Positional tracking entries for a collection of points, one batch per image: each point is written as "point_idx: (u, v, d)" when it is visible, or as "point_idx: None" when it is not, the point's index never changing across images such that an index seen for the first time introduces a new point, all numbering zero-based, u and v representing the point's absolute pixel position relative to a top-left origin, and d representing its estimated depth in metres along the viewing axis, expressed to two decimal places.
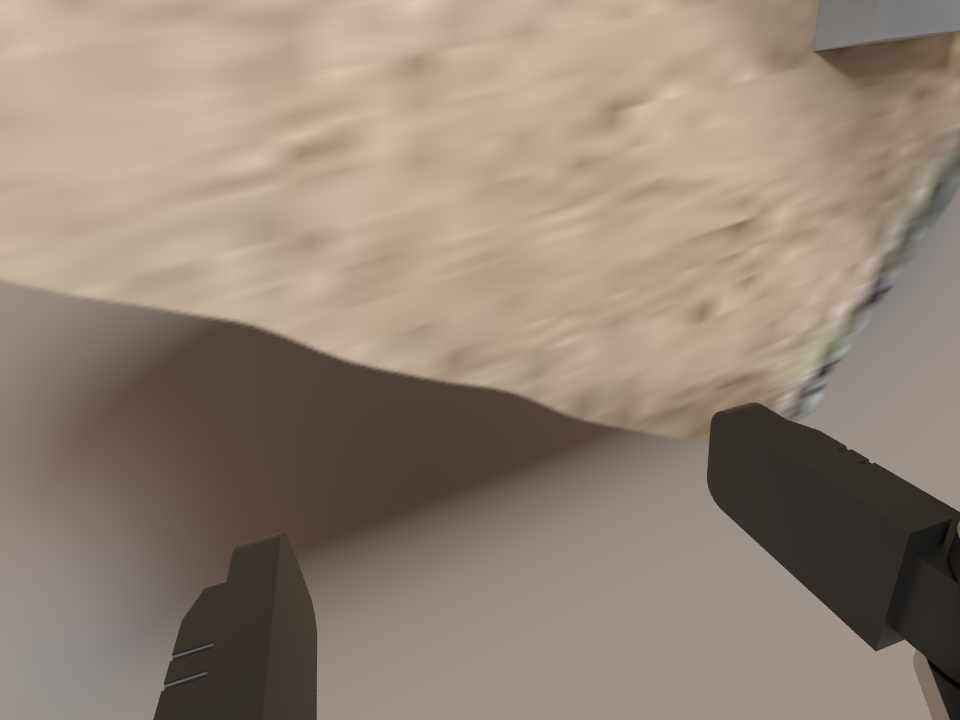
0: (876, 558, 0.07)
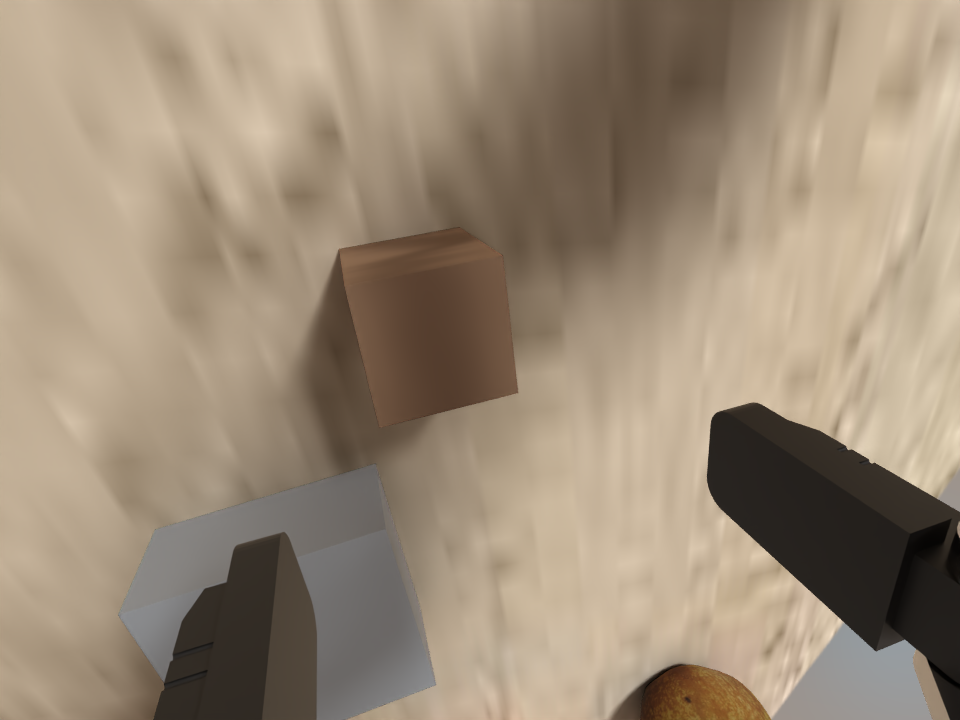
0: (876, 558, 0.07)
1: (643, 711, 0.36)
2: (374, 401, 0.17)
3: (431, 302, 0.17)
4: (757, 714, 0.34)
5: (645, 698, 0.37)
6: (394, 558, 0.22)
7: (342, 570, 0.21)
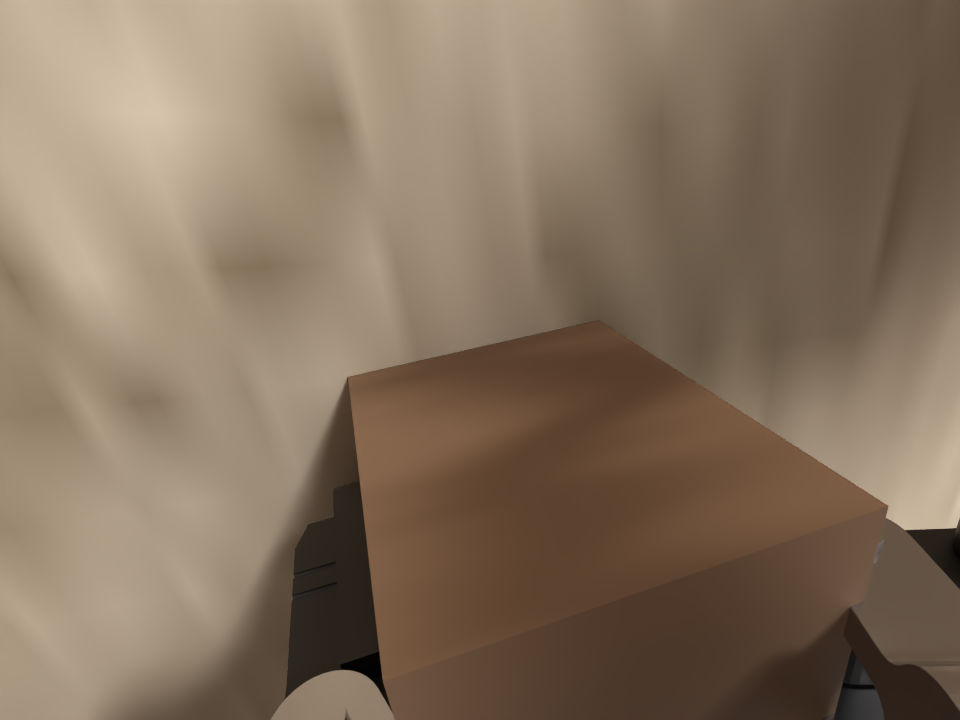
0: None
1: None
2: None
3: (660, 662, 0.05)
4: None
5: None
6: None
7: None
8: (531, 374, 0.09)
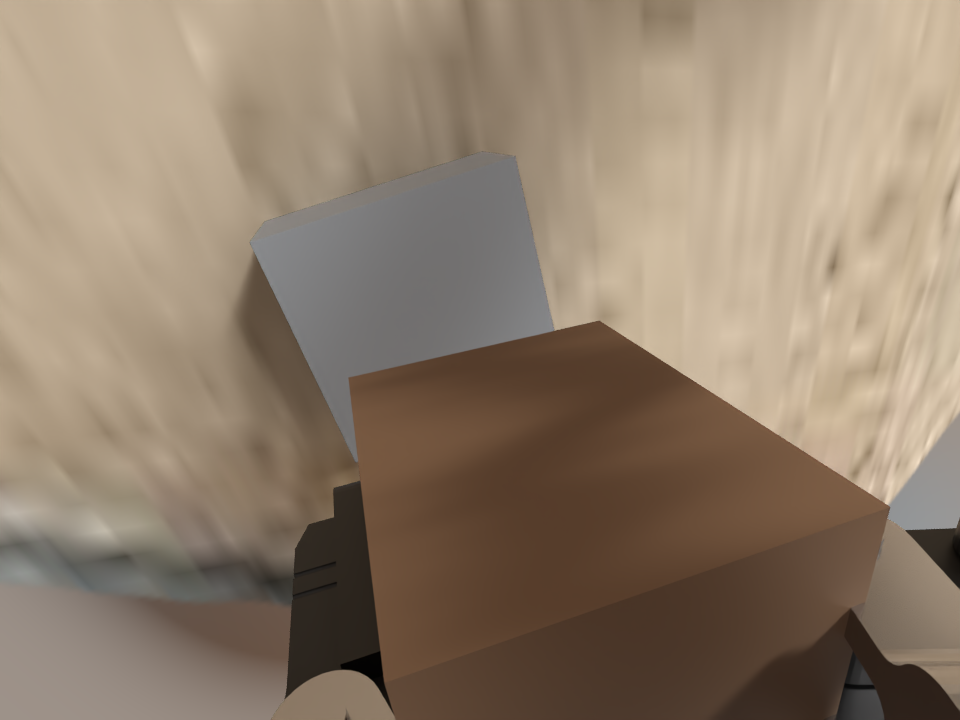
0: None
1: None
2: None
3: (662, 664, 0.05)
4: None
5: None
6: (524, 199, 0.20)
7: (472, 209, 0.20)
8: (532, 374, 0.09)
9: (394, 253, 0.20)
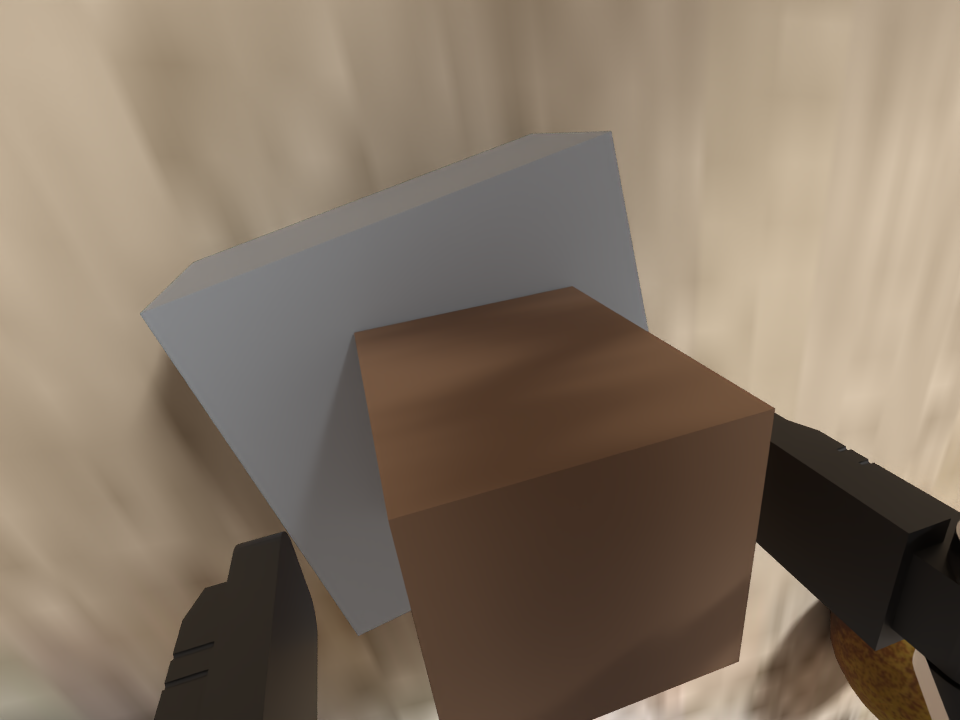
0: (875, 558, 0.07)
1: None
2: None
3: (599, 527, 0.07)
4: None
5: None
6: (623, 207, 0.12)
7: (537, 228, 0.11)
8: (510, 327, 0.10)
9: (406, 312, 0.11)
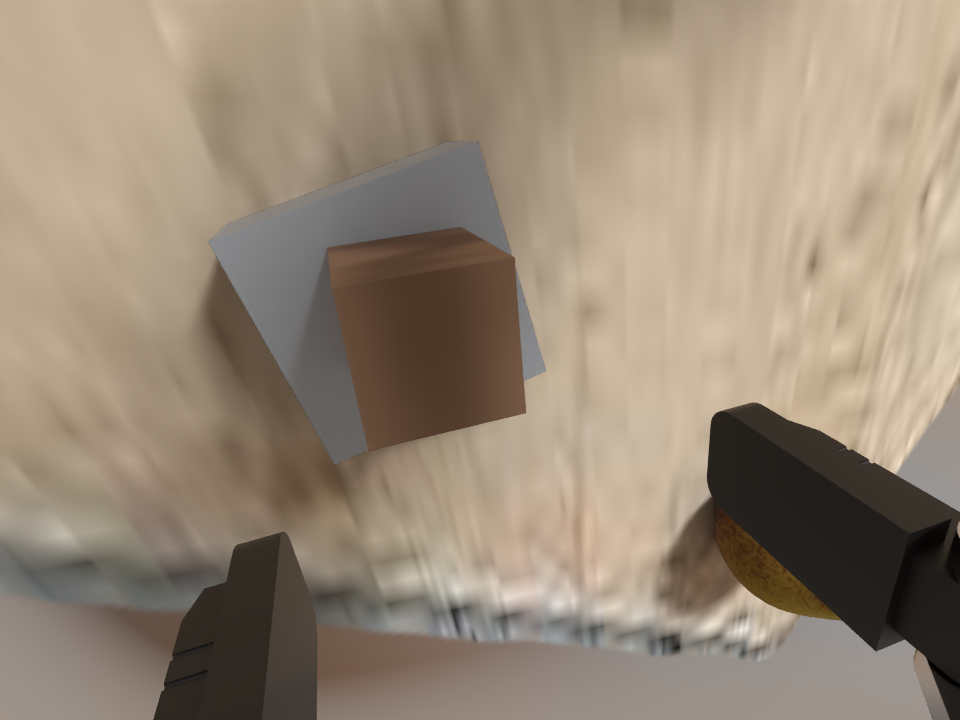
0: (876, 558, 0.07)
1: (720, 513, 0.35)
2: (363, 421, 0.15)
3: (432, 309, 0.14)
4: None
5: None
6: (490, 185, 0.20)
7: (437, 197, 0.19)
8: (415, 242, 0.18)
9: None
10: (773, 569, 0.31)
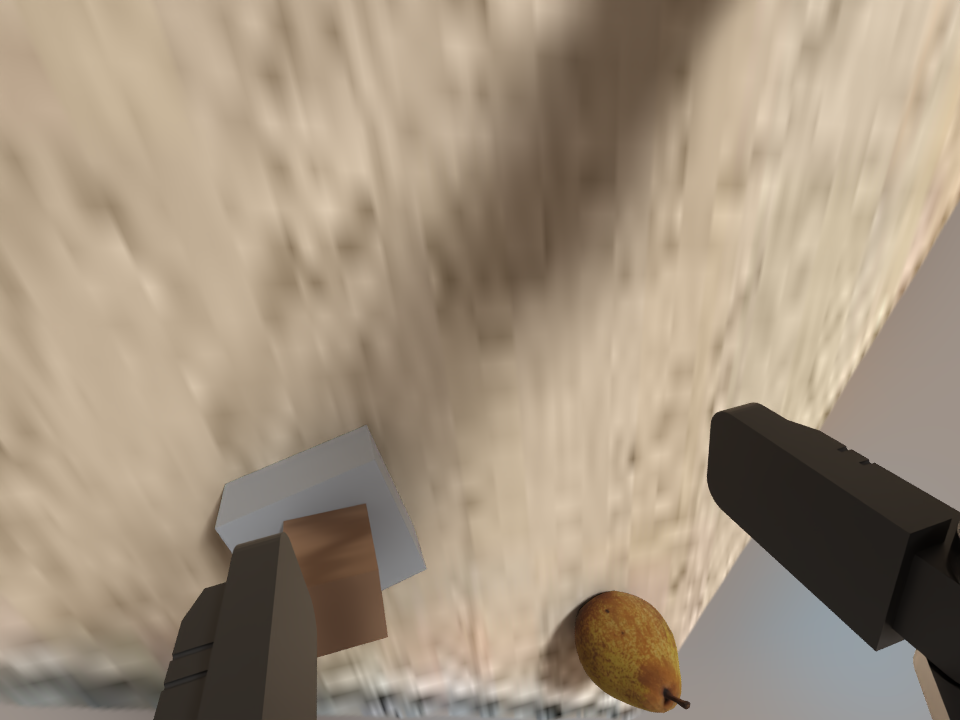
0: (876, 558, 0.07)
1: (576, 624, 0.48)
2: None
3: (333, 596, 0.28)
4: (656, 620, 0.46)
5: (578, 615, 0.49)
6: (383, 479, 0.33)
7: (351, 489, 0.33)
8: (334, 526, 0.31)
9: None
10: (601, 672, 0.45)
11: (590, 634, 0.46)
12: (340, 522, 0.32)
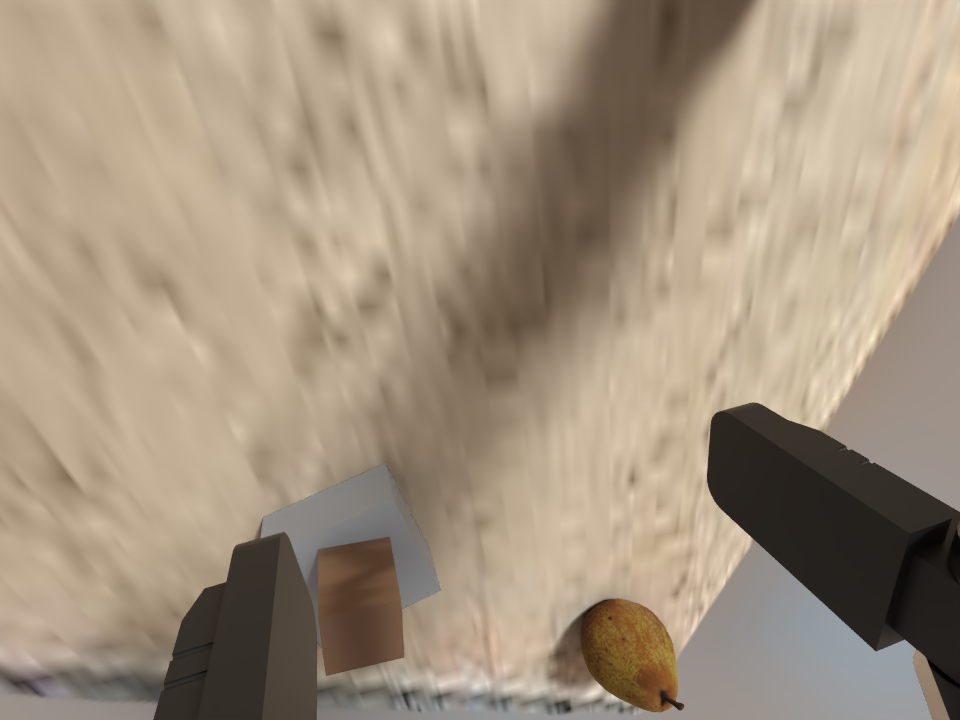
0: (876, 558, 0.07)
1: (582, 629, 0.53)
2: (325, 664, 0.33)
3: (361, 622, 0.32)
4: (656, 627, 0.50)
5: (584, 621, 0.53)
6: (401, 515, 0.38)
7: (372, 524, 0.37)
8: (362, 557, 0.36)
9: None
10: (604, 674, 0.49)
11: (594, 639, 0.50)
12: (367, 553, 0.36)
